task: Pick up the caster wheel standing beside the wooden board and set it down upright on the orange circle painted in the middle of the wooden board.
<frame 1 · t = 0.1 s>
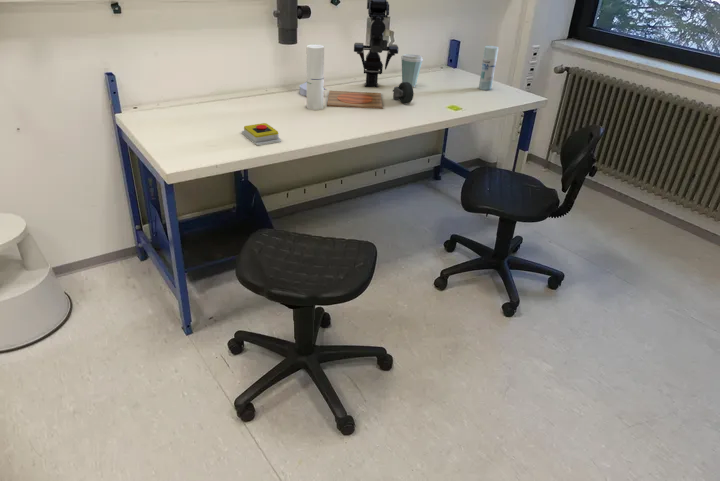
hand: (374, 68, 231), 15 cm above the table, tool pointing down, fingers open, 9 cm apart
caster wheel: (401, 101, 243), on the table
spray paint can: (484, 89, 268), on the table
emergency button: (261, 137, 195), on the table
disposable coffee cup: (409, 86, 266), on the table
wedge on round base: (311, 95, 245), on the table
wooden board: (354, 100, 241), on the table
cylindrical container: (315, 107, 229), on the table
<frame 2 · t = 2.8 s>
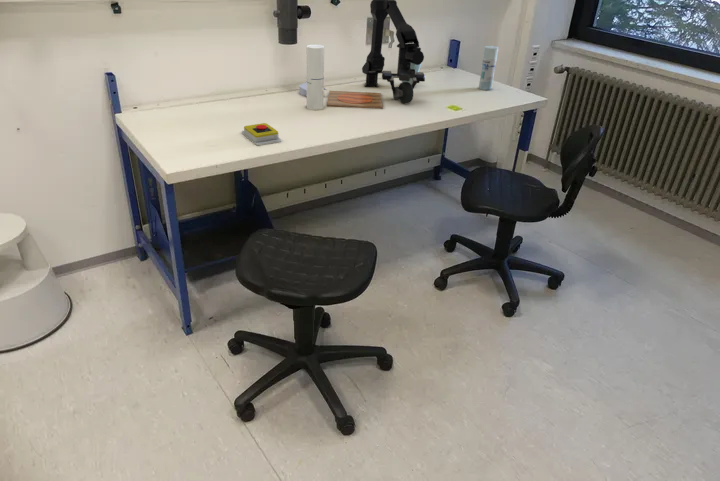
hand: (401, 95, 242), 3 cm above the table, tool pointing down, fingers closed on caster wheel, 7 cm apart
caster wheel: (401, 101, 243), on the table, touching gripper
everything else where it was.
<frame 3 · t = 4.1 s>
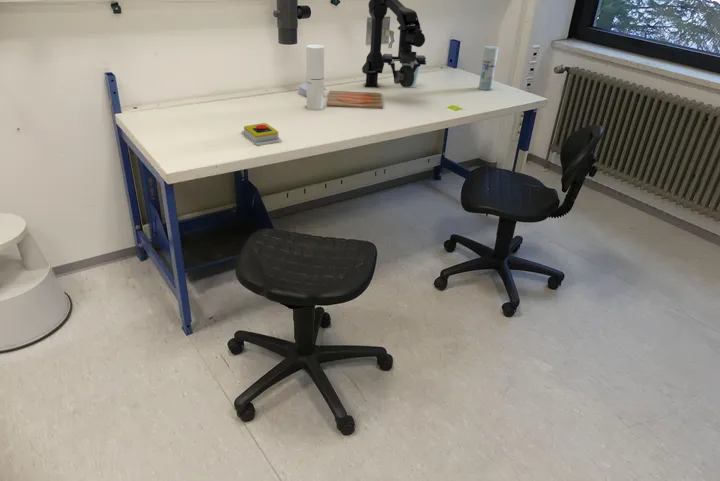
hand: (402, 79, 238), 10 cm above the table, tool pointing down, fingers closed on caster wheel, 7 cm apart
caster wheel: (402, 85, 239), point 7 cm above the table, touching gripper
everything else where it was.
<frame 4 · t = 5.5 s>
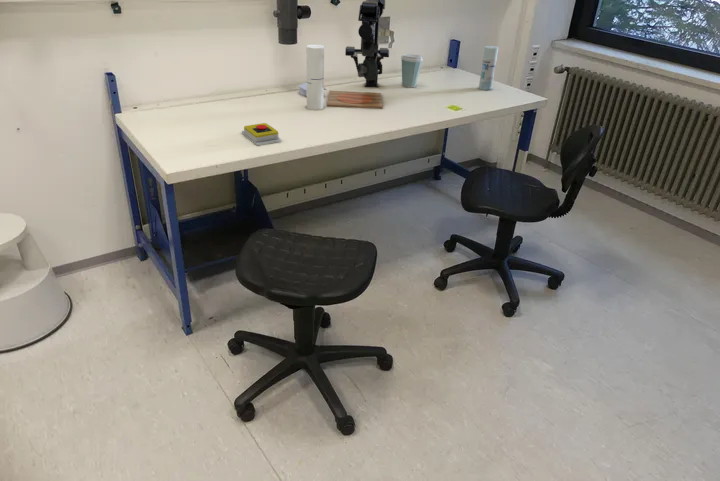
hand: (366, 72, 235), 12 cm above the table, tool pointing down, fingers closed on caster wheel, 7 cm apart
caster wheel: (365, 78, 236), point 10 cm above the table, touching gripper
everything else where it was.
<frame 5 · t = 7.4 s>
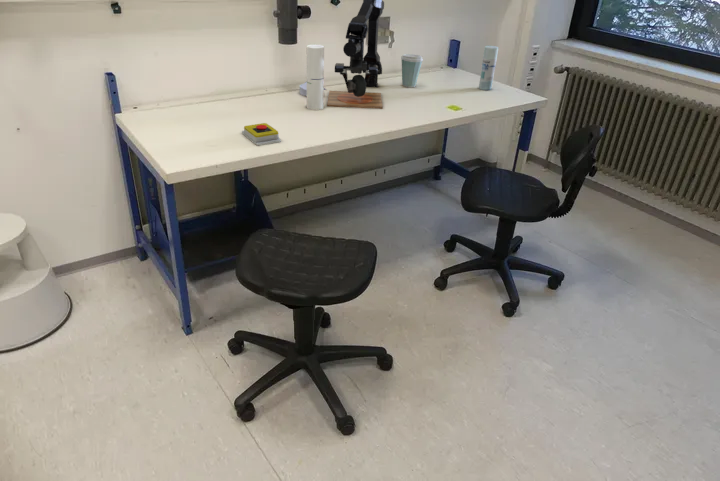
hand: (355, 88, 238), 5 cm above the table, tool pointing down, fingers closed on caster wheel, 7 cm apart
caster wheel: (355, 94, 239), point 3 cm above the table, touching gripper
everything else where it was.
when the fingers open (4 cm above the table, at t = 8.5 s): caster wheel stays where it is, resting on wooden board.
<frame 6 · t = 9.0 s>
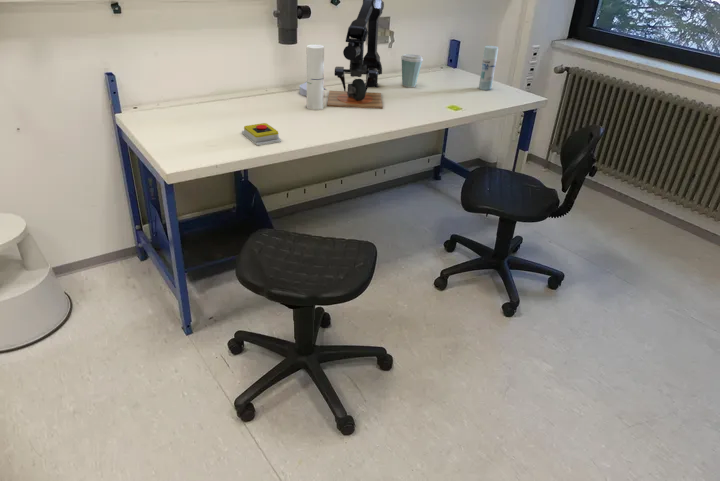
hand: (355, 91, 239), 4 cm above the table, tool pointing down, fingers open, 9 cm apart
caster wheel: (355, 98, 240), point 1 cm above the table, touching wooden board
everything else where it was.
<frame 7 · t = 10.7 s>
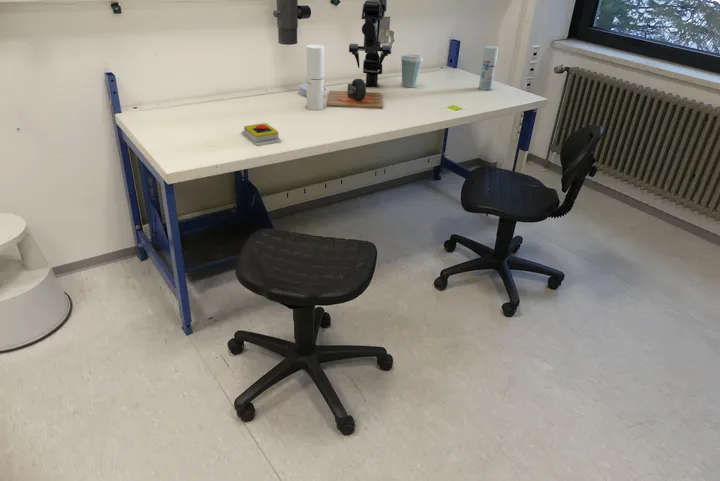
hand: (368, 68, 243), 12 cm above the table, tool pointing down, fingers open, 9 cm apart
nothing on the table moved.
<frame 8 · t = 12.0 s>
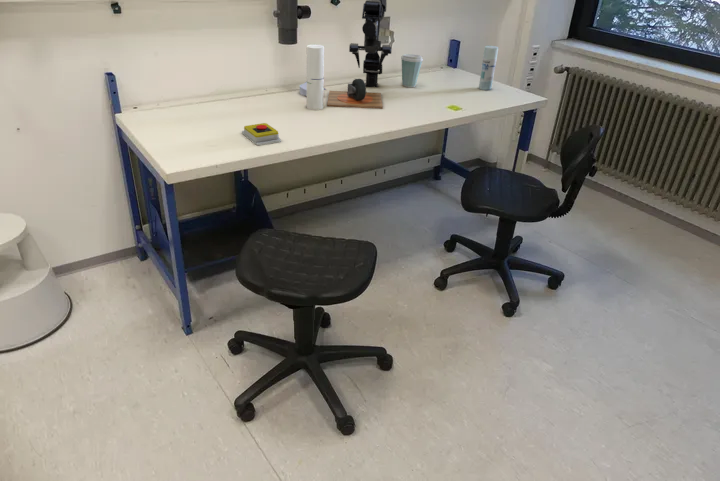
hand: (369, 68, 243), 12 cm above the table, tool pointing down, fingers open, 9 cm apart
nothing on the table moved.
at the end: caster wheel inside the target area on the wooden board (0.1 cm from its centre), point 0.8 cm above the wooden board's base; the gripper is holding nothing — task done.
